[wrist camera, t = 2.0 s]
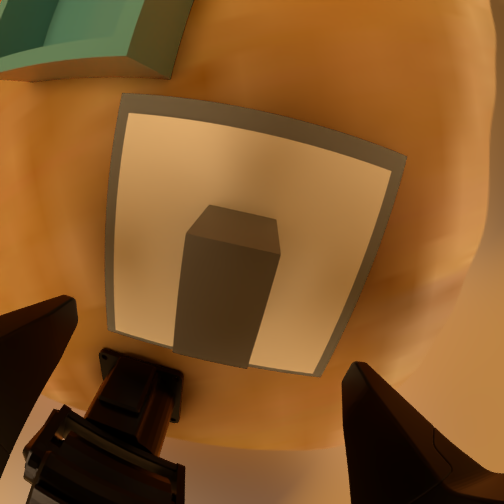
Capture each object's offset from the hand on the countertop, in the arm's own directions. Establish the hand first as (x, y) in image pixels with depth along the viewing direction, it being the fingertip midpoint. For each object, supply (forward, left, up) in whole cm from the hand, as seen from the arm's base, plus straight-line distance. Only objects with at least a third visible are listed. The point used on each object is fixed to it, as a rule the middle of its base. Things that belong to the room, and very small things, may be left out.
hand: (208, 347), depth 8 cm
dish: (+13, +10, -8) cm, 18 cm away
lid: (0, 0, -7) cm, 7 cm away
